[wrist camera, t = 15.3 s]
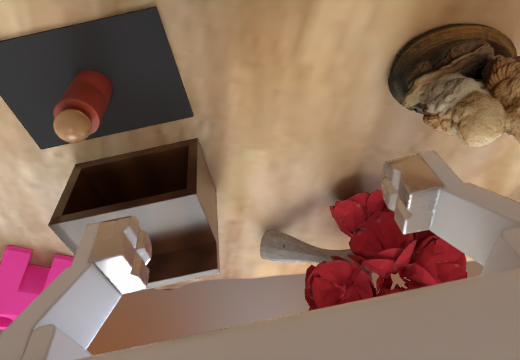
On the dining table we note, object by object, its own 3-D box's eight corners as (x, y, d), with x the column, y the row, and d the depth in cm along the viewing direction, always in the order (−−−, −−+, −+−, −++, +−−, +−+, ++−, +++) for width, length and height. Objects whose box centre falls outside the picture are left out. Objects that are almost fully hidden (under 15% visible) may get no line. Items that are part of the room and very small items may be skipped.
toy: (85, 106, 40) (58, 157, 33) (65, 73, 38) (32, 121, 30) (119, 99, 40) (100, 148, 33) (102, 65, 38) (77, 110, 30)
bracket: (65, 294, 65) (47, 349, 57) (2, 285, 61) (-27, 343, 53) (77, 257, 58) (59, 314, 51) (8, 245, 54) (-24, 304, 47)
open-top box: (109, 213, 53) (84, 302, 41) (75, 164, 46) (34, 254, 35) (216, 190, 52) (220, 274, 41) (197, 138, 46) (196, 220, 35)
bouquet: (294, 239, 74) (451, 270, 61) (250, 342, 58) (451, 412, 45) (279, 158, 60) (476, 176, 48) (217, 263, 44) (488, 331, 32)
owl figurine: (367, 111, 46) (430, 198, 34) (395, 20, 39) (490, 86, 26) (485, 111, 49) (585, 190, 36) (533, 24, 41) (681, 87, 29)
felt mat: (42, 147, 44) (41, 149, 43) (-33, 48, 35) (-35, 49, 35) (193, 114, 43) (193, 116, 43) (155, 6, 35) (155, 7, 34)
